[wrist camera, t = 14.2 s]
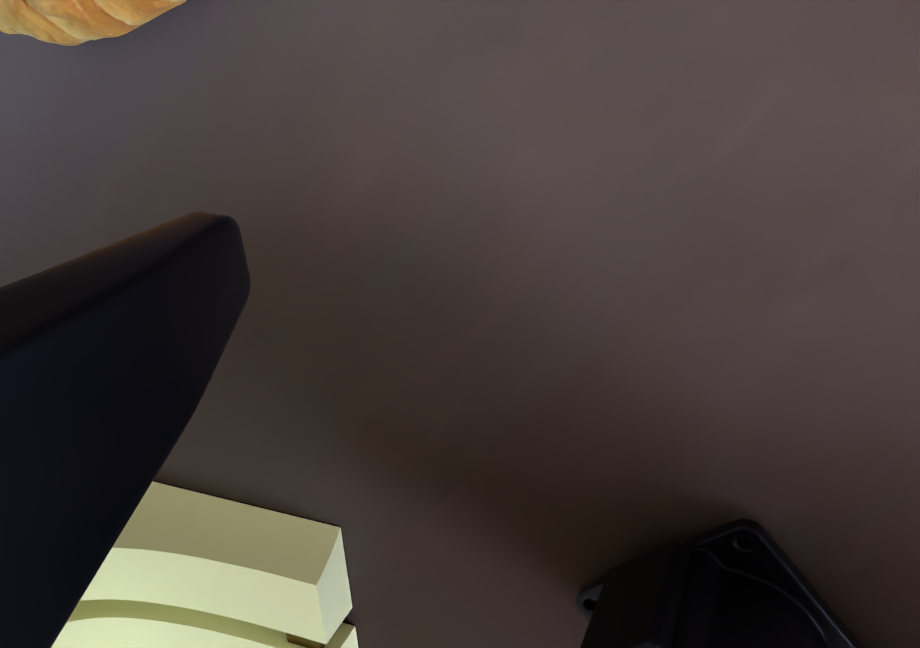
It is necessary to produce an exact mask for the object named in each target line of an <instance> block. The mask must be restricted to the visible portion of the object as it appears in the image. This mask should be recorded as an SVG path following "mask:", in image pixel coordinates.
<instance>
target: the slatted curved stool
mask: <svg viewBox="0 0 920 648" xmlns="http://www.w3.org/2000/svg"><path fill="white" fill-rule="evenodd" d="M351 609H352V601H351V594H350V588H349V581H348V574H347V567H346V561H345V554H344V547H343V541H342V534H341V527H337V526H332V525H328V524H324V523H320V522H316V521H312V520H308V519H304V518H300V517H296V516H292V515H288V514H283V513H279V512H275V511H271V510H267V509H263V508H259V507H255V506H251V505H247V504H243V503H239V502H235V501H230V500H226V499H222V498H218V497H214V496H210V495H206V494H202V493H198V492H194V491H190V490H186V489H181V488H177V487H173V486H169V485H165V484H161V483H157V482H153V481H152V483H151V485H150V486H149V488H148V490H147V491H146V493H145V495H144V496H143V498H142V500H141V501H140V503H139V504H138V506H137V508H136V509H135V511H134V513H133V514H132V516H131V518H130V519H129V521H128V522H127V524H126V526H125V527H124V529H123V531H122V532H121V534H120V536H119V537H118V539H117V540H116V542H115V544H114V545H113V547H112V549H111V550H110V552H109V554H108V555H107V557H106V559H105V560H104V562H103V563H102V565H101V567H100V568H99V570H98V572H97V573H96V575H95V577H94V578H93V580H92V581H91V583H90V585H89V586H88V588H87V590H86V591H85V593H84V595H83V596H82V598H81V600H80V601H79V603H78V604H77V606H76V608H75V609H74V611H73V613H72V614H71V616H70V618H69V619H68V621H67V622H66V624H65V626H64V627H63V629H62V631H61V632H60V634H59V636H58V637H57V639H56V640H55V642H54V644H53V645H52V647H51V648H358V641H357V635H356V628H355V626H353V625H349V624H346V623H342V622H343V620H344V619H345V617H346V616H347V615H348V613H349V612H350V610H351Z"/></svg>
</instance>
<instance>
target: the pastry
mask: <svg viewBox="0 0 920 648" xmlns="http://www.w3.org/2000/svg"><path fill="white" fill-rule="evenodd" d="M185 1H187V0H0V31H1V32H4V33H7V34H25V35H30V36H33V37H34V38H36V39H38V40H41V41H45V42H49V43H57V44H61V45H64V46H76V45H79V44H81V43H84V42H86V41H89V40H97V39H101V38H108V37H118V36H121V35H124V34H126V33H128V32H130V31H132V30H134V29H136V28H138V27H140V26H142V25H143V24H145V23H146V22H148V21H150V20H152V19H154V18H156V17H157V16H159V15H161V14H163V13H165V12H166V11H168V10H170V9H172V8H174V7H176V6H179V5H181V4H183V3H184V2H185Z"/></svg>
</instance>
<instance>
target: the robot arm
mask: <svg viewBox="0 0 920 648" xmlns="http://www.w3.org/2000/svg"><path fill="white" fill-rule="evenodd" d="M249 291H250V275H249V271H248V266H247V261H246V256H245V252H244V247H243V242H242V238H241V233H240V229H239V226H238V224H237V223H236V221H235V220H234V219H233V218H231V217H230V216H226V215H220V214H214V213H208V212H194V213H191V214H188V215H186V216H183V217H181V218H178V219H175V220H173V221H170V222H168V223H165V224H163V225H160V226H157V227H155V228H152V229H150V230H147V231H145V232H142V233H139V234H137V235H134V236H132V237H129V238H127V239H124V240H121V241H119V242H116V243H114V244H111V245H109V246H106V247H103V248H101V249H98V250H96V251H93V252H91V253H88V254H85V255H83V256H80V257H78V258H75V259H73V260H70V261H67V262H65V263H62V264H60V265H57V266H55V267H52V268H50V269H47V270H44V271H42V272H39V273H37V274H34V275H32V276H29V277H26V278H24V279H21V280H19V281H16V282H14V283H11V284H8V285H6V286H3V287H1V288H0V648H51V647H52V645H53V644H54V642H55V640H56V639H57V637H58V636H59V634H60V632H61V631H62V629H63V627H64V626H65V624H66V622H67V621H68V619H69V618H70V616H71V614H72V613H73V611H74V609H75V608H76V606H77V604H78V603H79V601H80V600H81V598H82V596H83V595H84V593H85V591H86V590H87V588H88V586H89V585H90V583H91V581H92V580H93V578H94V577H95V575H96V573H97V572H98V570H99V568H100V567H101V565H102V563H103V562H104V560H105V559H106V557H107V555H108V554H109V552H110V550H111V549H112V547H113V545H114V544H115V542H116V540H117V539H118V537H119V536H120V534H121V532H122V531H123V529H124V527H125V526H126V524H127V522H128V521H129V519H130V518H131V516H132V514H133V513H134V511H135V509H136V508H137V506H138V504H139V503H140V501H141V500H142V498H143V496H144V495H145V493H146V491H147V490H148V488H149V486H150V485H151V483H152V481H153V480H154V478H155V477H156V475H157V473H158V472H159V470H160V468H161V467H162V465H163V463H164V462H165V460H166V459H167V457H168V455H169V454H170V452H171V450H172V449H173V447H174V445H175V444H176V442H177V441H178V439H179V437H180V436H181V434H182V432H183V431H184V429H185V427H186V426H187V424H188V422H189V420H190V419H191V417H192V415H193V413H194V412H195V410H196V408H197V406H198V404H199V402H200V400H201V398H202V396H203V394H204V392H205V390H206V388H207V386H208V383H209V381H210V379H211V377H212V375H213V373H214V371H215V368H216V366H217V364H218V362H219V360H220V358H221V355H222V353H223V351H224V349H225V347H226V345H227V343H228V340H229V338H230V336H231V334H232V332H233V330H234V328H235V325H236V323H237V321H238V319H239V317H240V315H241V312H242V310H243V308H244V306H245V304H246V301H247V299H248V295H249ZM740 535H746V536H750V537H751V538H752V539H754V540H753V541H745V540H742V539H741V538H740V537H739V536H740ZM589 598H591V599H594V600H596V601H597V602H593V601H591V600H590V599H589ZM576 605H577V607H578V608H579V610H580V611H581V612H582V613H583V615H584V616H585V617H586V618H587V619H588V620H589V625H588V628H587V630H586V633H585V636H584V639H583V641H582V644H581V647H580V648H862V647H861V645H860V644H859V643H858V642H857V641H856V639H855V638H854V637H853V636H852V634H851V633H850V632H849V631H848V630H847V628H846V627H845V626H844V625H843V624H842V622H841V621H840V620H839V619H838V618H837V616H836V615H835V614H834V613H833V611H832V610H831V609H830V608H829V607H828V605H827V604H826V603H825V602H824V601H823V599H822V598H821V597H820V596H819V595H818V593H817V592H816V591H815V590H814V588H813V587H812V586H811V585H810V584H809V582H808V581H807V580H806V579H805V578H804V576H803V575H802V574H801V573H800V572H799V570H798V569H797V568H796V567H795V565H794V564H793V563H792V562H791V561H790V559H789V558H788V557H787V556H786V555H785V553H784V552H783V551H782V550H781V549H780V547H779V546H778V545H777V544H776V542H775V541H774V540H773V539H772V538H771V536H770V535H769V534H768V533H767V532H766V530H765V529H764V528H763V527H762V526H761V525H760V524H759V523H757V522H755V521H753V520H751V519H743V518H742V519H737V520H734V521H732V522H729V523H727V524H725V525H722V526H720V527H718V528H715V529H713V530H711V531H708V532H706V533H704V534H701V535H699V536H696V537H694V538H692V539H689V540H687V541H685V542H671V543H669V544H666V545H664V546H662V547H659V548H657V549H655V550H652V551H650V552H648V553H645V554H643V555H641V556H638V557H636V558H634V559H631V560H629V561H627V562H624V563H622V564H620V565H618V566H615V567H613V568H611V569H609V570H608V572H607V575H605V576H602V577H600V578H598V579H595V580H593V581H591V582H588V583H586V584H584V585H583V586H581V588H580V590H579V593H578V595H577V598H576Z"/></svg>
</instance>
